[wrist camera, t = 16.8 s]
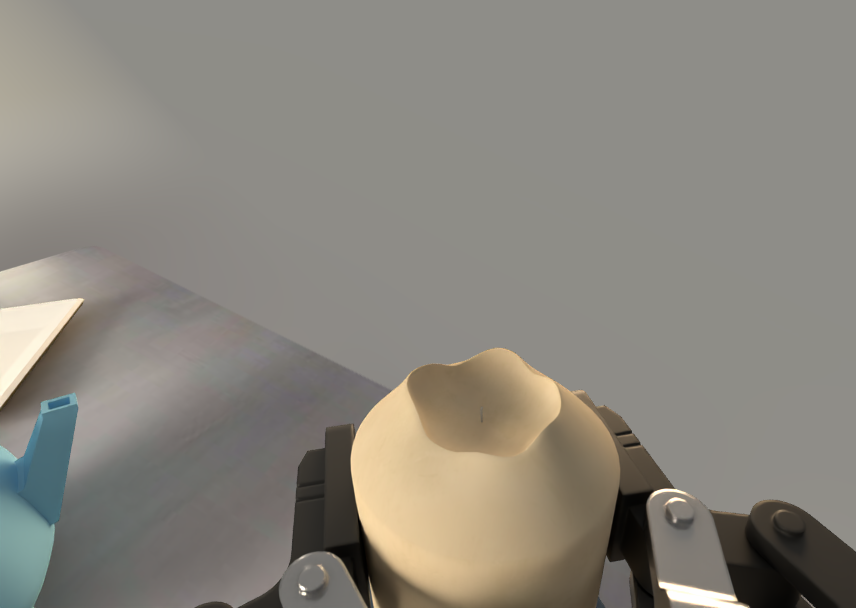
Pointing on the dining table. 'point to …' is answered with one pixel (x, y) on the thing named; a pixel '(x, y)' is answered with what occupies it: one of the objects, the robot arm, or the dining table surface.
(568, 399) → the candle
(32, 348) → the plate
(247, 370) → the dining table surface
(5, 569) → the teapot
